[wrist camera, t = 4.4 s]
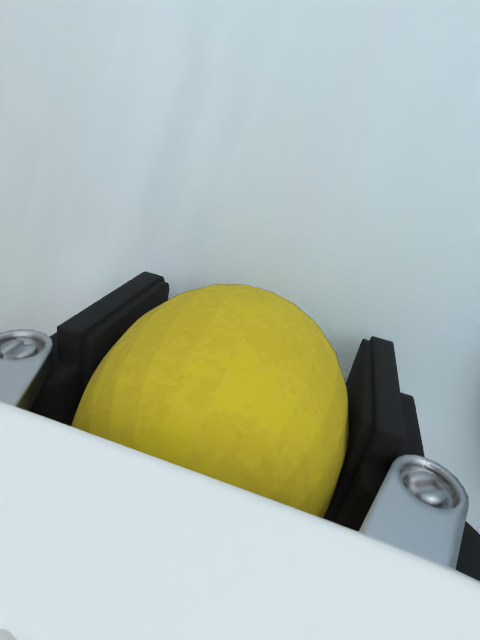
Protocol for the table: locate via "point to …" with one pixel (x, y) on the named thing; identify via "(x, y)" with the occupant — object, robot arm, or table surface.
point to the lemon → (228, 394)
